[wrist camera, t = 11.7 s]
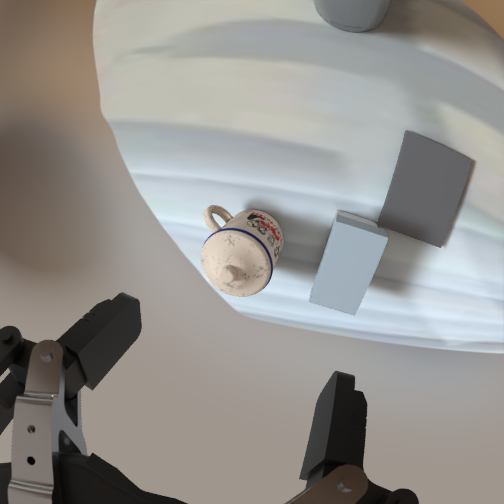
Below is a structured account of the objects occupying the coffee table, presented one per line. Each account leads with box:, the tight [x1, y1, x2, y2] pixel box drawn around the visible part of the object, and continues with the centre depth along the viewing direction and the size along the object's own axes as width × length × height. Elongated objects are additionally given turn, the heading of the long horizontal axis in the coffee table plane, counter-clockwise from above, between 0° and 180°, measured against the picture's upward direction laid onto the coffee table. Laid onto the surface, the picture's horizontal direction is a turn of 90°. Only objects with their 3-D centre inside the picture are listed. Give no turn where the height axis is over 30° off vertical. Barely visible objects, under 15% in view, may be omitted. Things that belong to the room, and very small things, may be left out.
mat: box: [378, 131, 472, 248], centre depth 31 cm, size 13×10×1 cm
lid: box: [309, 214, 389, 315], centre depth 33 cm, size 11×6×3 cm, turn 168°
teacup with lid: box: [201, 205, 284, 297], centre depth 37 cm, size 12×9×12 cm
